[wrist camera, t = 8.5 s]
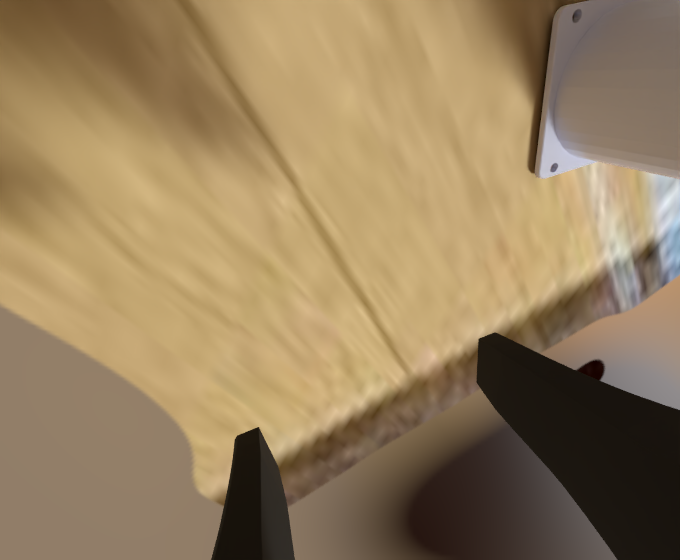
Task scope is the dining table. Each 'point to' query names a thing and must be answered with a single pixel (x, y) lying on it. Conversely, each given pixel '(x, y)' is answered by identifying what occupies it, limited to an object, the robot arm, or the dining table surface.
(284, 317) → the dining table surface
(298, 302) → the dining table surface
